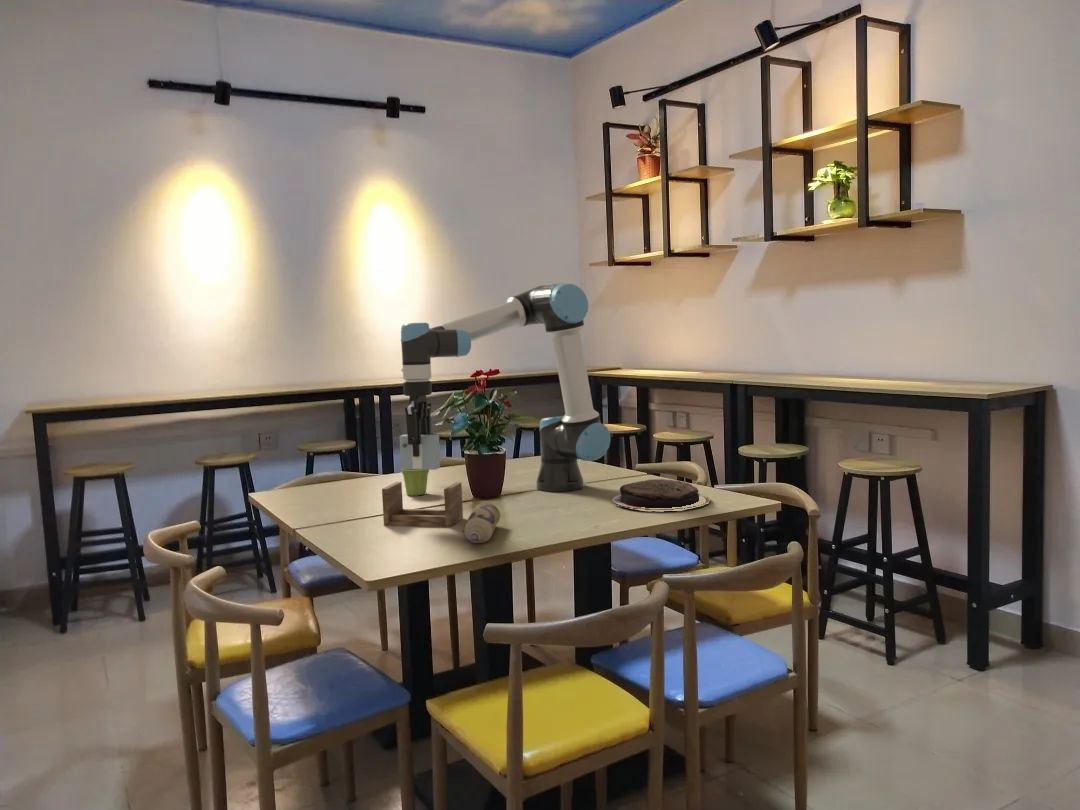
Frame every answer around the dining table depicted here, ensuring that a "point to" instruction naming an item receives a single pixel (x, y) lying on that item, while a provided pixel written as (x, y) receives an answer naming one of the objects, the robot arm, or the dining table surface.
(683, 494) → the chocolate cake
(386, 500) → the track
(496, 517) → the decorative bottle
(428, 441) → the door panel
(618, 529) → the dining table surface
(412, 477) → the plant pot
